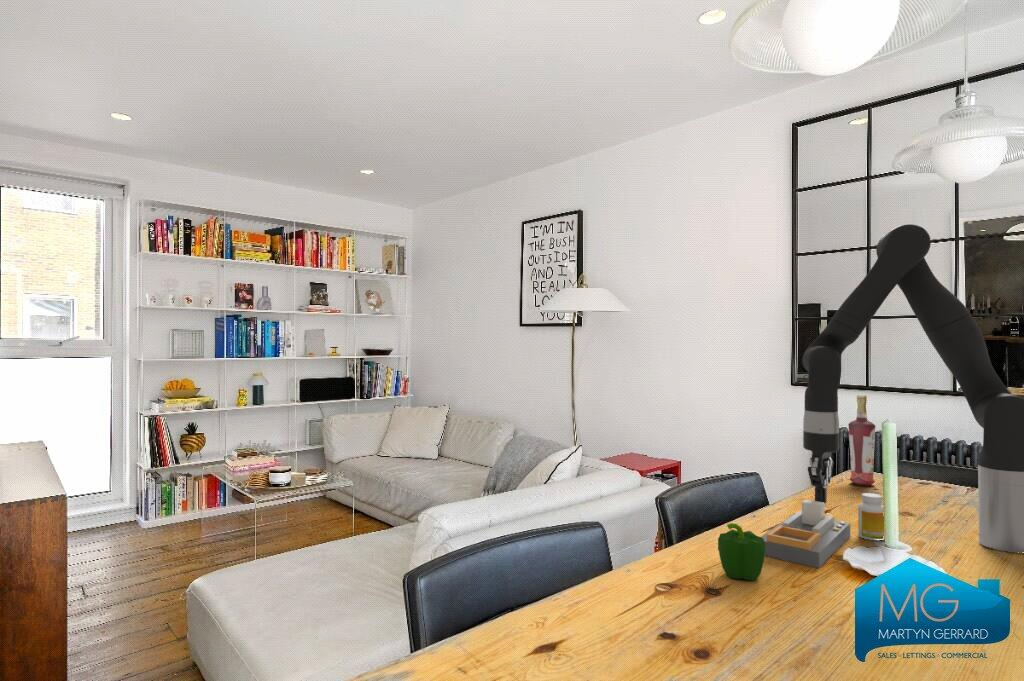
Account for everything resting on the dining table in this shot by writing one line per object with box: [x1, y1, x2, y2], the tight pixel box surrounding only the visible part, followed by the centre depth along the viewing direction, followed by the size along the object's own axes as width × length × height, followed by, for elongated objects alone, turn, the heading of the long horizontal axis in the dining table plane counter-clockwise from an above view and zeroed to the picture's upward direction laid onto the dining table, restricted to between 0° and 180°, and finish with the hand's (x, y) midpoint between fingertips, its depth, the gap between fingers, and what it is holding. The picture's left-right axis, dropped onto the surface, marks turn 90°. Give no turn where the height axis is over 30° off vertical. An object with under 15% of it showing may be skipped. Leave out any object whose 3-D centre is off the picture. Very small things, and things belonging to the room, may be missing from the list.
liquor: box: [848, 394, 876, 487], centre depth 186 cm, size 7×7×28 cm
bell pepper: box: [717, 522, 766, 581], centre depth 112 cm, size 8×8×10 cm
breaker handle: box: [801, 499, 826, 526], centre depth 134 cm, size 4×3×5 cm
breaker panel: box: [760, 509, 851, 569], centre depth 130 cm, size 12×26×5 cm, turn 138°
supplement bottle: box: [857, 492, 884, 541], centre depth 134 cm, size 5×5×10 cm
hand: (820, 503), depth 140 cm, fingers closed
